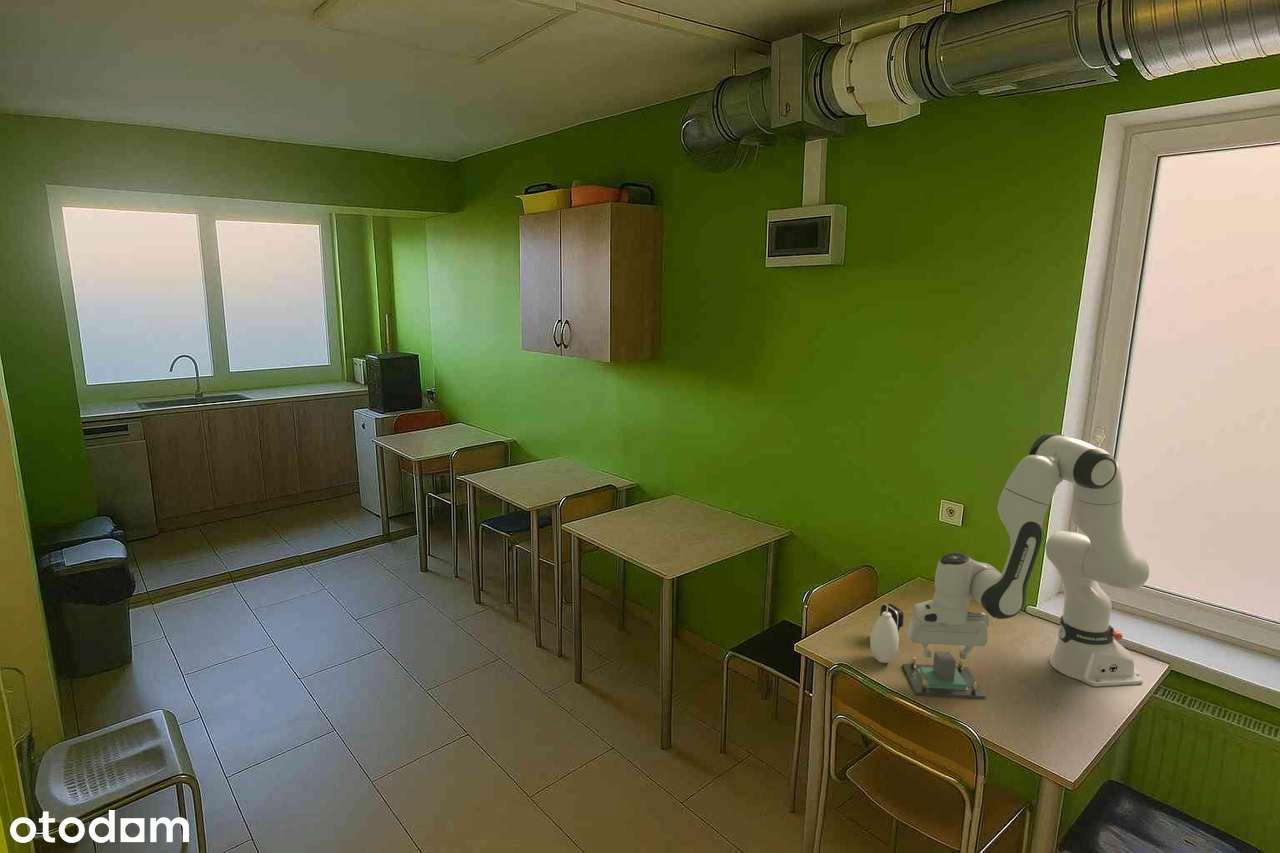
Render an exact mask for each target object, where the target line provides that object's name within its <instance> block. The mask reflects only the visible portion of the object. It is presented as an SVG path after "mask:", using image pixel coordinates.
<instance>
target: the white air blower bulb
mask: <svg viewBox="0 0 1280 853" xmlns="http://www.w3.org/2000/svg"><path fill="white" fill-rule="evenodd" d="M891 616H892V615H891V613H889V612H888V605H887V609H886V612H883V613H882V615H881V616H880V615H879V617H878V618H877V620H876V621H875V622H874V625H873V627H872V629H871V633H870V641H869V645H870V651H871V653H872V656H873V657H874V659H876V660H877V661H878V662H879V663H882V664H887V663H889V662H892V661H893V659H894V658H895V657H896V656H897V653H898V650H899V646H900V645H899V644H900V637H899V636H900V635H899V632H898V630H897V626H896V624H895V621H894V619H893V618H892V617H891Z"/></svg>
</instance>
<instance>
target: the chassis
mask: <svg viewBox="0 0 1280 853" xmlns="http://www.w3.org/2000/svg"><path fill="white" fill-rule="evenodd" d="M916 663H917V657H916V656H914V655H913V656H911V659H910V663H902V665H901V667H902V669H903V670H904V673H905V675H906V677H907V679H908V681H909V683H910V685H911V688H912V690H913V692H914V695H915V696H927V697H928V696H930V697H943V698H944V697H946V698H947V697H948V698H961V699H962V698H963V699H976V700H977V699H978V700H979V699H981V700H982V699H983V700H985V699H987V698H986V697H987V696H986V694H985V693H984V691H983V690H982V687H981V686H980V685H979V682H978V681H977V680H976V679H975V677H974V676H973V674H972V672H971V670H970V669H969V667H968V666H964V659H961V658H958V664H957V665H956V666H955V668H956V669H957V670H958V672H959V673H960V675H961V676H962V678H963V679H964V681H965V682H966V684H967V688H948V687H929V686H928V684H927V679H925V678H924V677H923V675H922V673H921V672H920V667H933V664H919V663H918V664H916Z"/></svg>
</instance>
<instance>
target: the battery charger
mask: <svg viewBox="0 0 1280 853" xmlns="http://www.w3.org/2000/svg"><path fill="white" fill-rule="evenodd" d="M887 605H888V612H889V613H891V615H892V616H891V617H892V618H893V619H894V621H895V624H896V626H897V630H898V633H900V632H899V631H900V629H901V628H902V627H904V612H903V611H902V609H900V608H899V607H897V606H896V605H894V604H892V603H887V604H886V603H884V604H883V605H881V608H880V613H879V614H880V615H879V617H880V616H881V615H882V613H883V612H886V609H887Z"/></svg>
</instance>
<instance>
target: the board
mask: <svg viewBox="0 0 1280 853" xmlns="http://www.w3.org/2000/svg"><path fill="white" fill-rule="evenodd" d="M932 665H933V667H920V672H921V673H922V675H923V677H924V678H925V679H927V684H928V686H929V687H948V688H967V684H966V682H965V681H964V679H963V678H962V676H961V675H960V673H959V672H958V670H957V669H956V668H955V666H957V662H956V659H955V658H954V656H953V655H952V654H951V652H950V651H938V650H937V651H934V654H933V663H932Z"/></svg>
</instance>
